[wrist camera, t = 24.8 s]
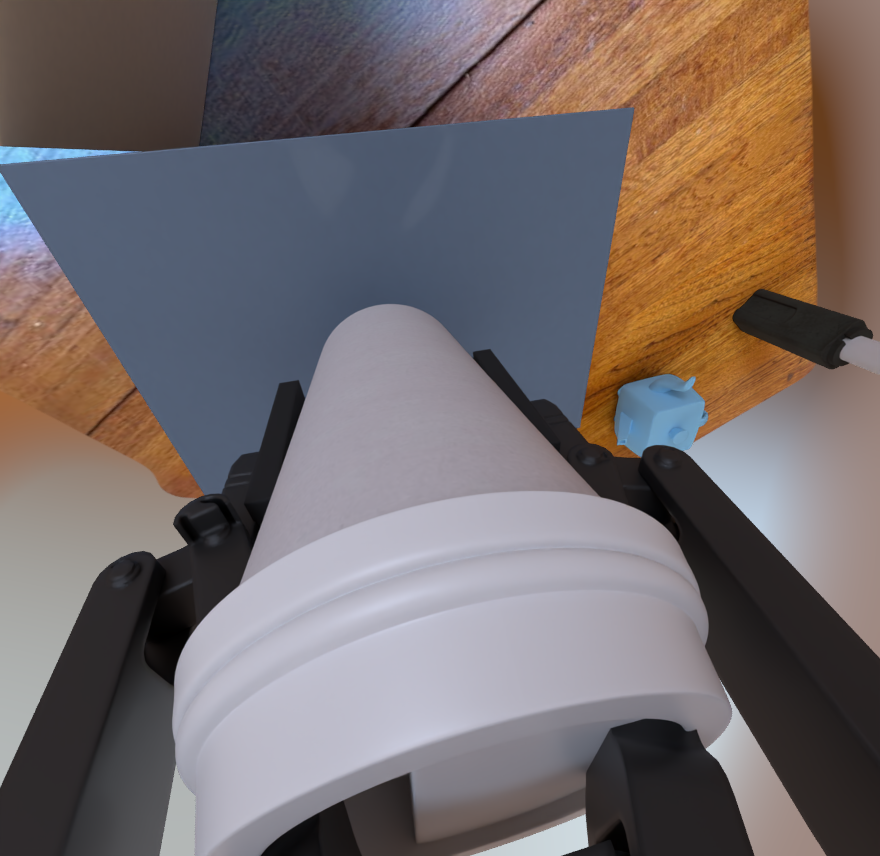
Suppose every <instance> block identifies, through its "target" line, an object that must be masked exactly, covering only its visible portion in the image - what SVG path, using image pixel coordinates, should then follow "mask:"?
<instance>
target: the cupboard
mask: <svg viewBox="0 0 880 856" xmlns="http://www.w3.org/2000/svg"><path fill="white" fill-rule="evenodd" d="M633 114H634V108H622V109H611V110H600V111H588V112H577V113H566V114H555V115H544V116H533V117H522V118H511V119H500V120H489V121H477V122H466V123H455V124H444V125H433V126H422V127H411V128H400V129H389V130H377V131H366V132H355V133H344V134H333V135H322V136H311V137H300V138H289V139H278V140H266V141H255V142H244V143H233V144H222V145H211V146H200V147H189V148H178V149H167V150H155V151H144V152H133V153H122V154H111V155H100V156H89V157H78V158H67V159H56V160H44V161H33V162H22V163H11V164H0V173H1V174H2V176H3V177H4V179H5V181H6V182H7V184H8V185H9V187H10V188H11V190H12V192H13V193H14V195H15V196H16V198H17V199H18V201H19V203H20V204H21V206H22V207H23V209H24V211H25V212H26V214H27V215H28V217H29V218H30V220H31V222H32V223H33V225H34V226H35V228H36V229H37V231H38V233H39V234H40V236H41V237H42V239H43V240H44V242H45V244H46V245H47V247H48V248H49V250H50V252H51V253H52V255H53V256H54V258H55V259H56V261H57V263H58V264H59V266H60V267H61V269H62V270H63V272H64V274H65V275H66V277H67V278H68V280H69V282H70V283H71V285H72V286H73V288H74V289H75V291H76V293H77V294H78V296H79V297H80V299H81V300H82V302H83V304H84V305H85V307H86V308H87V310H88V312H89V313H90V315H91V316H92V318H93V319H94V321H95V323H96V324H97V326H98V327H99V329H100V330H101V332H102V334H103V335H104V337H105V338H106V340H107V342H108V343H109V345H110V346H111V348H112V349H113V351H114V353H115V354H116V356H117V357H118V359H119V360H120V362H121V364H122V365H123V367H124V368H125V370H126V371H127V373H128V375H129V376H130V378H131V379H132V381H133V383H134V384H135V386H136V387H137V389H138V390H139V392H140V394H141V395H142V397H143V398H144V400H145V401H146V403H147V405H148V406H149V408H150V409H151V411H152V413H153V414H154V416H155V417H156V419H157V420H158V422H159V424H160V425H161V427H162V428H163V430H164V431H165V433H166V435H167V436H168V438H169V439H170V441H171V443H172V444H173V446H174V447H175V449H176V450H177V452H178V454H179V455H180V457H181V458H182V460H183V461H184V463H185V465H186V466H187V468H188V469H189V471H190V473H191V474H192V476H193V477H194V479H195V480H196V482H197V484H198V485H199V487H200V488H201V490H202V491H203V493H204V495H208V494H219V493H220V494H221V493H222V491H223V488H225V487H224V485H225V482H226V480H227V479H228V474H229V472H230V469H231V466H232V465H233V464H234V463H235V461H236V460H237V459H238V458H239V457H240V456H241V455H242V454H248V453H253V452H259V450H260V447H261V444H262V440H263V437H264V433H265V430H266V427H267V423H268V420H269V416H270V413H271V410H272V406H273V403H274V399H275V396H276V393H277V389H278V386H279V383H283V382H290V381H296V380H299V382H300V385H301V388H302V391H303V394H304V397H305V399H306V396H307V393H308V390H309V387H310V385H311V382H312V379H313V376H314V373H315V370H316V367H317V364H318V361H319V358H320V356H321V353H322V350H323V347H324V345H325V343H326V341H327V339H328V337H329V336H330V334H331V333H332V332H333V330H334V329H335V328H336V327H337V326H338V325H339V324H340V323H341V322H342V321H344V320H345V319H346V318H348V317H349V316H351V315H352V314H354V313H356V312H358V311H360V310H362V309H365V308H368V307H372V306H376V305H382V304H399V305H406V306H410V307H414V308H417V309H419V310H421V311H424V312H426V313H427V314H429V315H431V316H432V317H434V318H435V319H436V320H437V321H439V322H440V323H441V324H442V325H443V326H444V327H445V328H446V329H447V331H448V332H449V333H450V334H451V335H452V336H453V337H454V338H455V339H456V340H457V342H458V343H459V344H460V345H461V346H462V347H463V348H464V349H465V350H466V352H467V353H468V354H469V355H470V356H471V357H472V358H473V352H474V351H480V350H486V349H491V351H492V352H493V353H494V354H495V356H496V357H497V358H498V360H499V361H500V362H501V364H502V365H503V366H504V368H505V369H506V370H507V372H508V373H509V374H510V376H511V377H512V378H513V379H514V381H515V382H516V383H517V385H518V386H519V387H520V389H521V390H522V391H523V393H524V394H525V395H526V397H527V398H528V399H529V401H534V400H540V399H546V400H548V401H550V402H552V403H553V404H555V405H556V406H557V407H558V408H559V409H560V410H561V411H562V413H563V415H565V416H566V417H567V418H568V420H569V421H570V422H571V423H572V424H573V425H574V427H575V428H579V427H580V423H581V417H582V411H583V405H584V400H585V394H586V388H587V382H588V376H589V370H590V365H591V359H592V353H593V347H594V341H595V335H596V330H597V324H598V318H599V312H600V306H601V300H602V295H603V289H604V283H605V277H606V271H607V265H608V260H609V254H610V248H611V242H612V236H613V230H614V225H615V219H616V213H617V207H618V201H619V195H620V190H621V184H622V178H623V172H624V166H625V160H626V155H627V149H628V143H629V137H630V131H631V125H632V120H633Z"/></svg>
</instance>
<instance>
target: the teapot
mask: <svg viewBox="0 0 880 856" xmlns="http://www.w3.org/2000/svg"><path fill="white" fill-rule="evenodd" d="M694 382H695V377H691V378H690V379H689V380H687V381H686V382H684V381H683V380H682V379H680V378H679V377H677V376H674V375H672V374H664V375H659V376H655V377H651V378H647V379H643V380H639V381H635V382H632V383H628V384H625V385H623V386H622V387H621V388H620V389H619V390H618V396H619V399H618V403H617V408H616V415H615V417H614V421H615V434H616V436H617V437H618V439H617V445H625V446H626V447H627V448H629V449H630V450H631V451H633V452H634V453H635V454H637V455H638V456H640V457H642V453H643V451H644V450H645V449H646V448H647V447H650V446H653V445H666V446H671V447H675V448H677V449H679V450H681V451H684V450H688V449H689V448H690V447H691V446H692V444H693V442H694V439H695V437H696V434H697V431H698V428H699V427H700V426H703V425H704V424H705V423H706V422H707V420H708V414H707V412H706V411H705V410H704V406H705V401H704V399H703V398H702V397H701V396H700V395H699V394H698V393H697V392H696V391H695V390H694V389H693V388H692V386H693V384H694Z"/></svg>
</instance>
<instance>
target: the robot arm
mask: <svg viewBox="0 0 880 856" xmlns="http://www.w3.org/2000/svg"><path fill="white" fill-rule="evenodd" d="M473 359H474V360H475V361H476V363H477V364H478V365H479V366H480V367H481V368H482V369H483V370H484V371H485V372H486V374H487V375H488V376H489V377H490V378H491V379H492V380H493V381H494V382H495V383H496V385H497V386H498V387H499V388H500V389H501V390H502V391H503V392H504V393H505V394H506V396H507V397H508V398H509V399H510V400H511V401H512V402H513V403H514V404H515V405H516V407H517V408H518V409H519V410H520V411H521V412H522V413H523V414H524V415H525V416H526V417H527V419H528V420H529V421H530V422H531V423H532V424H533V425H534V426H535V427H536V428H537V429H538V431H539V432H540V433H541V434H542V435H543V436H544V437H545V438H546V439H547V440H548V441H549V443H550V444H551V445H552V446H553V447H554V448H555V449H556V450H557V451H558V452H559V453H560V454H561V456H562V457H563V458H564V459H565V460H566V461H567V462H568V463H569V464H570V465H571V466H572V467H573V468H574V470H575V471H576V472H577V473H578V474H579V475H580V476H581V477H582V478H583V479H584V480H585V481H586V482H587V484H588V485H589V486H590V487H591V488H592V489H593V490H594V491H595V492H596V493H597V494H598V495H599V496H600V497H601V498H606V499H610V500H613V501H617V502H620V503H623V504H626V505H628V506H631V507H633V508H636V509H638V510H640V511H642V512H644V513H646V514H647V515H649V516H651V517H652V518H654V519H655V520H657V521H658V522H659V523H661V524H662V525H663V526H664V527H665V528H666V529H667V530H668V531H669V532H670V533H671V534H672V535H673V537H674V538H675V539H676V541H677V542H678V544H679V546H680V548H681V550H682V552H683V554H684V557H685V559H686V561H687V563H688V565H689V567H690V568H691V570H692V572H693V574H694V576H695V579H696V581H697V584H698V587H699V590H700V596H701V599H702V601H703V603H704V605H705V608H706V611H707V615H708V623H709V629H708V637H707V641H706V644H705V648H706V651H707V653H708V655H709V657H710V659H711V662H712V664H713V666H714V668H715V671H716V673H717V675H718V677H719V679H720V680H721V682H722V684H723V685H724V687H725V689H726V690H727V692H728V694H729V695H730V697H731V698H732V700H733V702H734V704H735V705H736V707H737V709H738V710H739V712H740V714H741V715H742V717H743V719H744V720H745V722H746V724H747V725H748V727H749V729H750V730H751V732H752V734H753V735H754V737H755V739H756V740H757V742H758V744H759V745H760V747H761V749H762V750H763V752H764V754H765V755H766V757H767V759H768V760H769V762H770V764H771V766H772V767H773V769H774V770H775V772H776V774H777V776H778V777H779V779H780V780H781V782H782V784H783V786H784V787H785V789H786V790H787V792H788V794H789V796H790V797H791V799H792V801H793V802H794V804H795V806H796V807H797V809H798V811H799V812H800V814H801V815H802V817H803V819H804V821H805V822H806V824H807V825H808V827H809V829H810V830H811V832H812V833H813V835H814V837H815V838H816V840H817V841H818V843H819V844H820V846H821V848H822V849H823V851H824V852H825V854H826V855H827V856H880V658H879V657H878V656H877V655H876V654H875V653H874V652H873V651H872V650H871V649H870V648H869V646H868V645H867V644H866V643H865V642H864V641H863V640H862V639H861V638H860V637H859V636H858V635H857V634H856V633H855V632H854V630H853V629H852V628H851V627H850V626H849V625H848V624H847V623H846V622H845V621H844V620H843V619H842V618H841V617H840V616H839V614H838V613H837V612H836V611H835V610H834V609H833V608H832V607H831V606H830V605H829V604H828V603H827V602H826V601H825V600H824V599H823V598H822V596H821V595H820V594H819V593H818V592H817V591H816V590H815V589H814V588H813V587H812V586H811V585H810V584H809V583H808V582H807V581H806V579H805V578H804V577H803V576H802V575H801V574H800V573H799V572H798V571H797V570H796V569H795V568H794V567H793V566H792V565H791V564H790V562H789V561H788V560H787V559H786V558H785V557H784V556H783V555H782V554H781V553H780V552H779V551H778V550H777V549H776V547H775V546H774V545H773V544H771V542H770V541H769V540H768V539H767V538H766V537H765V536H764V535H763V534H762V533H761V532H760V530H759V529H758V528H757V527H756V526H755V525H754V524H753V523H752V522H751V521H750V520H749V519H748V518H747V517H746V516H745V515H744V514H743V512H742V511H741V510H740V509H739V508H738V507H737V506H736V505H735V504H734V503H733V502H732V501H731V500H730V499H729V498H728V496H727V495H726V494H725V493H724V492H723V491H722V490H721V489H720V488H719V487H718V486H717V485H716V484H715V483H714V482H713V481H712V480H711V478H710V477H709V476H708V475H707V474H706V473H705V472H704V471H703V470H702V469H701V468H700V467H699V466H698V465H697V464H696V463H695V462H694V460H693V459H692V458H691V457H690V456H688V455H687V454H686V453H685V452H683V451H681V450H679V449H677V448H675V447H671V446H666V445H653V446H650V447H647V448H646V449H645V450H644V451H643V453H642V457H641V458H624V457H613V455H612V453H611V452H610V451H608V450H607V449H606V448H604V447H601V446H599V445H596V444H590V443H588V442H587V441H586V440H585V438H584V437H583V436H582V435H581V434H580V432H579V431H578V430H577V429H576V428H575V427H574V425H573V424H572V423H571V422H570V421H569V420H568V418H567V417H566V416H565V415H563V413H562V411H561V410H560V409H559V408H558V407H557V406H556V405H555V404H553V403H552V402H550V401H548V400H546V399H540V400H534V401H529V399H528V398H527V397H526V395H525V394H524V393H523V391H522V390H521V389H520V387H519V386H518V385H517V383H516V382H515V381H514V379H513V378H512V377H511V376H510V374H509V373H508V372H507V370H506V369H505V368H504V366H503V365H502V364H501V362H500V361H499V360H498V358H497V357H496V356H495V354H494V353H493V352H492V351H491V349H486V350H480V351H474V352H473ZM304 402H305V397H304V394H303V391H302V388H301V385H300V382H299V380H296V381H290V382H283V383H279V386H278V389H277V393H276V396H275V399H274V403H273V406H272V410H271V413H270V416H269V420H268V423H267V427H266V430H265V433H264V437H263V440H262V444H261V447H260V450H259V452H253V453H248V454H242V455H241V456H240V457H239V458H238V459H237V460H236V461H235V463H234V464H233V465H232V466H231V469H230V472H229V474H228V479H227V480H226V482H225V485H224V487H225V488H223V491H222V493H221V494H220V493H219V494H208V495H205V496H201V497H199V498H197V499H195V500H193V501H191V502H190V503H188V504H187V505H186V506H184V507H183V508H182V509H181V510H180V511H179V513H178V514H177V515H176V517H175V519H174V523H173V525H174V527H175V528H176V529H177V530H178V532H179V533H180V535H181V536H182V537H183V538H184V540H185V541H186V542H187V544H188V545H187V546H185V547H183V548H181V549H179V550H177V551H175V552H172V553H170V554H168V555H166V556H163V557H161V558H159V559H155V557H154V556H153V555H152V554H151V553H149V552H145V551H141V552H134V553H131V554H128V555H126V556H124V557H121V558H119V559H118V560H116V561H115V562H113V563H111V564H110V565H109V566H108V567H107V568H105V570H103V571H102V572H101V573H100V574H99V576H98V577H97V579H96V580H95V582H94V583H93V585H92V588H91V590H90V592H89V594H88V597H87V599H86V601H85V603H84V605H83V607H82V609H81V612H80V614H79V616H78V618H77V620H76V623H75V625H74V627H73V629H72V631H71V634H70V636H69V638H68V640H67V643H66V645H65V647H64V649H63V651H62V653H61V656H60V658H59V660H58V662H57V664H56V667H55V669H54V671H53V673H52V675H51V678H50V680H49V682H48V684H47V686H46V689H45V691H44V693H43V695H42V698H41V699H40V702H39V704H38V706H37V708H36V711H35V713H34V715H33V717H32V719H31V721H30V724H29V726H28V728H27V730H26V732H25V735H24V737H23V739H22V741H21V743H20V746H19V748H18V750H17V752H16V754H15V757H14V759H13V761H12V763H11V765H10V768H9V770H8V772H7V774H6V776H5V778H4V781H3V783H2V785H1V787H0V856H159V854H160V849H161V843H162V837H163V832H164V827H165V821H166V815H167V810H168V804H169V799H170V793H171V788H172V782H173V777H174V771H175V765H176V758H175V745H176V744H175V740H174V736H173V729H172V717H173V705H174V680H175V672H176V667H177V664H178V660H179V658H180V655H181V653H182V650H183V648H184V646H185V644H186V643H187V641H188V639H189V638H190V636H191V635H192V633H193V632H194V630H195V629H196V628H197V626H198V625H199V624H200V623H201V621H202V620H203V619H204V618H205V617H206V616H207V615H208V613H209V612H210V611H211V610H212V609H213V608H214V607H215V606H216V605H217V604H218V603H220V602H221V601H222V600H223V599H224V598H225V597H226V596H227V595H229V594H230V593H231V592H232V591H233V590H235V589H236V588H237V587H238V586H239V585H240V583H241V580H242V577H243V574H244V572H245V569H246V566H247V563H248V561H249V558H250V555H251V552H252V550H253V547H254V544H255V541H256V538H257V536H258V533H259V530H260V527H261V524H262V522H263V519H264V516H265V513H266V510H267V508H268V505H269V502H270V499H271V496H272V494H273V491H274V488H275V485H276V482H277V479H278V477H279V474H280V471H281V468H282V465H283V462H284V459H285V457H286V454H287V451H288V448H289V445H290V442H291V439H292V436H293V434H294V431H295V428H296V425H297V422H298V419H299V416H300V413H301V411H302V408H303V405H304ZM585 810H586V822H587V834H588V844H589V847H587V848H584V849H581V850H578V851H575V852H572V853H569V854H566V855H563V856H754V853H753V850H752V847H751V844H750V841H749V838H748V835H747V833H746V829H745V826H744V823H743V820H742V817H741V814H740V811H739V808H738V805H737V802H736V799H735V796H734V793H733V791H732V788H731V786H730V783H729V781H728V778H727V776H726V774H725V772H724V770H723V769H722V767H721V765H720V764H719V762H718V761H717V760H716V759H715V758H714V757H713V756H712V755H711V754H710V753H709V752H707V751H706V749H705V748H704V746H703V744H702V742H701V740H700V737H699V735H698V732H697V729H696V730H692V731H685V730H684V728H683V727H682V726H681V725H680V724H678V723H676V722H673V721H669V720H662V719H641V720H638V721H635V722H631V723H627V724H624V725H620V726H616V727H613V728H610V730H609V732H608V734H607V735H606V737H605V739H604V741H603V743H602V745H601V746H600V748H599V750H598V752H597V754H596V755H595V757H594V759H593V761H592V763H591V764H590V766H589V768H588V770H587V772H586V790H585ZM261 856H362V854H361V852H360V850H359V847H358V845H357V842H356V839H355V836H354V833H353V830H352V826H351V823H350V820H349V817H348V813H347V810H346V807H345V804H344V800H343V801H341V802H339V803H337V804H335V805H333V806H331V807H329V808H327V809H325V810H323V811H321V812H319V813H317V814H315V815H313V816H312V817H310V818H308V819H306V820H305V821H303V822H301V823H300V824H298V825H296V826H295V827H293V828H292V829H290V830H289V831H287V832H286V833H284V834H283V835H282V836H280V837H279V838H278V839H276V840H275V841H274V842H273V843H272V844H270V845H269V846H268V847H267V848H266V850H265V851H264V852H263V853H262V855H261Z"/></svg>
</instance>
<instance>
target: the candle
mask: <svg viewBox="0 0 880 856" xmlns="http://www.w3.org/2000/svg"><path fill="white" fill-rule="evenodd" d="M733 321H734V322H735V323H736V324H737V326H738V327H739V328H740V329H741V331H743V332H745V333H747V334H750V335H752V336H754V337H757V338H759V339H761V340H764V341H766V342H768V343H771V344H773V345H775V346H777V347H780V348H782V349H784V350H787V351H789V352H791V353H794V354H796V355H798V356H800V357H803V358H805V359H807V360H810V361H812V362H814V363H817V364H819V365H821V366H824V367H826V368H828V369H835V368H837V367H839V366H844V365H846V364H849V363H851V364H854V365H856V366H859V367H862V368H864V369H867V370H869V371H871V372H874V373H876V374H879V375H880V342H878V341H875V340H872V338H873V334H872V331H871V330H869V329H868V328H867V327H866V324H865V322H864V321H863V320H860V319H857V318H854V317H851V316H847V315H844V314H840V313H838V312H835V311H831V310H828V309H825V308H822V307H818V306H815V305H812V304H809V303H806V302H802V301H799V300H796V299H793V298H790V297H786V296H783V295H780V294H777V293H774V292H770V291H767V290H764V289H760V290H758V291H756V292H755V293H754V294H753V296H752V297H751V298H750V299H749V300H748V301H747V302H746V303H745V304H744V305H743V306H742V307H741V308H740V309H737V310H736V311H735V313H734V315H733Z"/></svg>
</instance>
